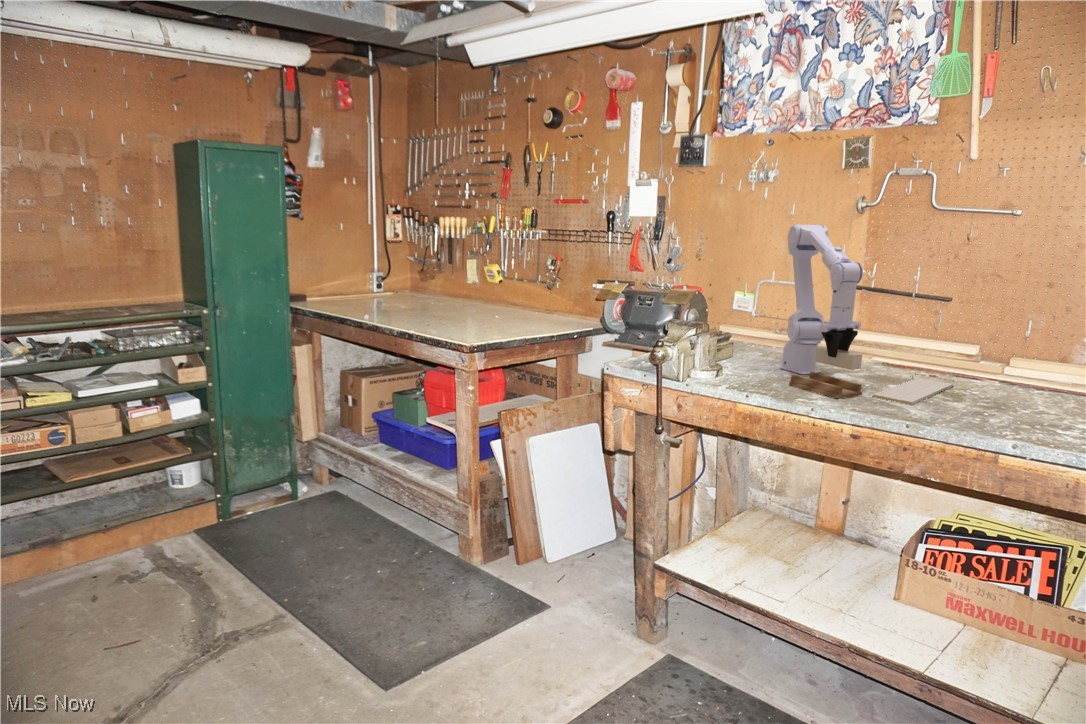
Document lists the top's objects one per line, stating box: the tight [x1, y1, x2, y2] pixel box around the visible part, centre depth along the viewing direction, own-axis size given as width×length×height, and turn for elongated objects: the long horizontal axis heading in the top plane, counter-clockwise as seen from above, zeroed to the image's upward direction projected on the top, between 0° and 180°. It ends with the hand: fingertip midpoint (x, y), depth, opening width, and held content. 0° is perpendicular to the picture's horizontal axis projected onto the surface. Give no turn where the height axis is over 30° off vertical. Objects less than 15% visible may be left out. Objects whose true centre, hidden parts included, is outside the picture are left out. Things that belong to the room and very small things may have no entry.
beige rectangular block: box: [815, 346, 863, 371], centre depth 189 cm, size 12×4×4 cm, turn 29°
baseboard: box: [869, 373, 955, 406], centre depth 188 cm, size 31×3×12 cm
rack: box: [788, 372, 863, 399], centre depth 186 cm, size 16×9×3 cm, turn 28°
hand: (836, 356), depth 189 cm, fingers closed on beige rectangular block, 4 cm apart
